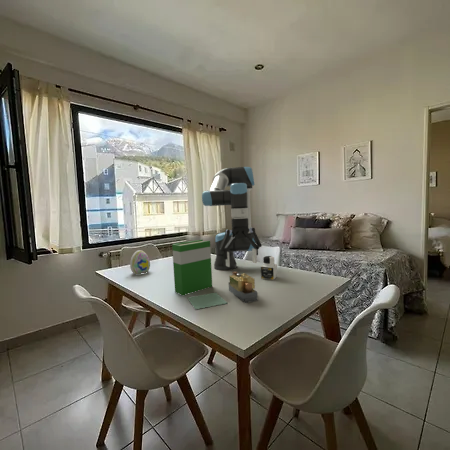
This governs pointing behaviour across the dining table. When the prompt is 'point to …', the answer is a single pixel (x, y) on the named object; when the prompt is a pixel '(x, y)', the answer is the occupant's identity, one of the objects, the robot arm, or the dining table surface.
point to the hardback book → (192, 266)
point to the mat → (206, 300)
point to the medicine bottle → (268, 268)
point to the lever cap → (241, 281)
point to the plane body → (245, 295)
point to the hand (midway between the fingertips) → (241, 264)
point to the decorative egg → (140, 262)
